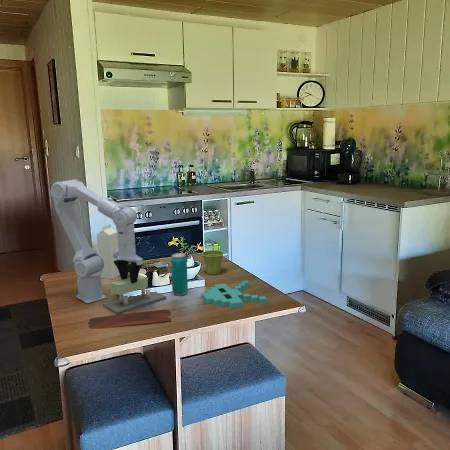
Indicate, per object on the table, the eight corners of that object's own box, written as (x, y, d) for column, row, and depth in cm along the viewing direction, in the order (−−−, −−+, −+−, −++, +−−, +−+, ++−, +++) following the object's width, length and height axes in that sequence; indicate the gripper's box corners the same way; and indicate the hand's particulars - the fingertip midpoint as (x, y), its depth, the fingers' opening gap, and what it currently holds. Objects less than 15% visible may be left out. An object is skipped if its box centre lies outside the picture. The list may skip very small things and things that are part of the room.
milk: (100, 278, 189) (95, 226, 185) (108, 273, 195) (104, 223, 190) (112, 279, 187) (108, 227, 182) (120, 274, 193) (116, 224, 188)
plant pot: (208, 277, 187) (208, 257, 185) (198, 271, 195) (198, 252, 194) (228, 273, 192) (228, 254, 190) (217, 268, 200) (217, 249, 198)
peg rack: (102, 306, 159) (102, 295, 158) (151, 292, 172) (150, 282, 171) (117, 314, 152) (116, 303, 151) (166, 299, 165) (165, 288, 164)
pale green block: (139, 284, 165) (138, 275, 165) (147, 287, 162) (147, 277, 161) (111, 292, 157) (110, 282, 156) (119, 295, 153) (119, 285, 153)
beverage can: (183, 289, 174) (182, 252, 171) (190, 294, 169) (189, 255, 166) (169, 292, 171) (168, 254, 168) (176, 297, 166) (175, 258, 163)
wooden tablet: (170, 311, 155) (169, 307, 155) (172, 324, 145) (172, 319, 145) (89, 318, 150) (89, 314, 150) (86, 331, 141) (85, 326, 140)
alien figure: (246, 286, 178) (197, 292, 172) (246, 280, 177) (197, 287, 171) (266, 304, 159) (212, 312, 153) (266, 298, 159) (212, 306, 153)
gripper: (104, 242, 158) (107, 279, 161) (129, 249, 148) (132, 288, 151) (121, 238, 163) (124, 274, 166) (146, 244, 153) (149, 282, 156)
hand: (129, 280), depth 159 cm, fingers closed on pale green block, 5 cm apart
